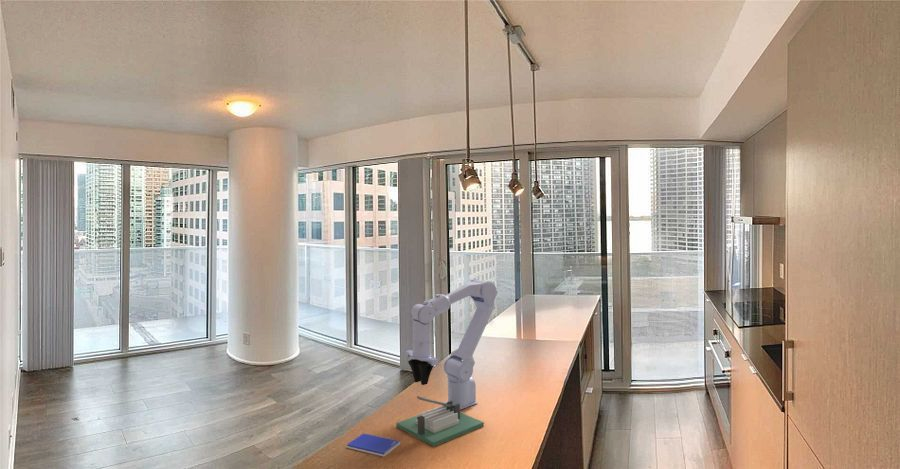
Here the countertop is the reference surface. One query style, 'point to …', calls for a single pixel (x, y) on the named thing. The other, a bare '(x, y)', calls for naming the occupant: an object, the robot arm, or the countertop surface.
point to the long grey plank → (435, 402)
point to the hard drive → (373, 444)
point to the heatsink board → (440, 424)
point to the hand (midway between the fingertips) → (421, 382)
